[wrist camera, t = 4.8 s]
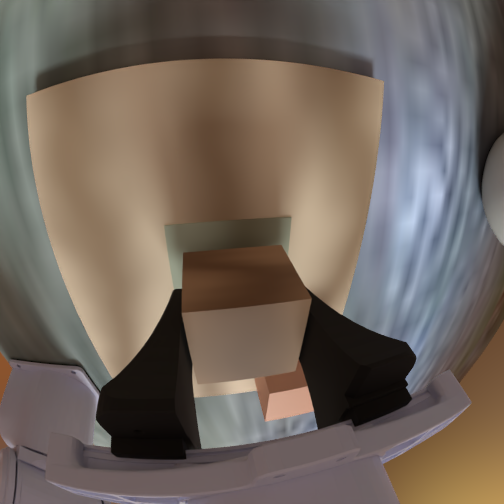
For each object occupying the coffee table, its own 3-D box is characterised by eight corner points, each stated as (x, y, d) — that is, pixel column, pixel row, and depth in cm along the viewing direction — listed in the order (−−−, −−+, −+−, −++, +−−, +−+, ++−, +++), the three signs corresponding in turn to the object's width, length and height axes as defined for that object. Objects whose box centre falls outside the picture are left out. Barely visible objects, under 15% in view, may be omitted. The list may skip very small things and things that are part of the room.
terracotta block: (254, 380, 21) (265, 421, 18) (256, 347, 19) (269, 393, 15) (306, 371, 22) (321, 408, 19) (316, 337, 20) (336, 379, 16)
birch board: (126, 390, 21) (125, 399, 20) (36, 95, 9) (25, 95, 8) (316, 369, 24) (320, 378, 23) (373, 81, 12) (384, 81, 11)
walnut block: (193, 324, 15) (197, 384, 11) (183, 252, 12) (181, 312, 9) (274, 315, 15) (295, 371, 12) (281, 244, 13) (311, 298, 10)
